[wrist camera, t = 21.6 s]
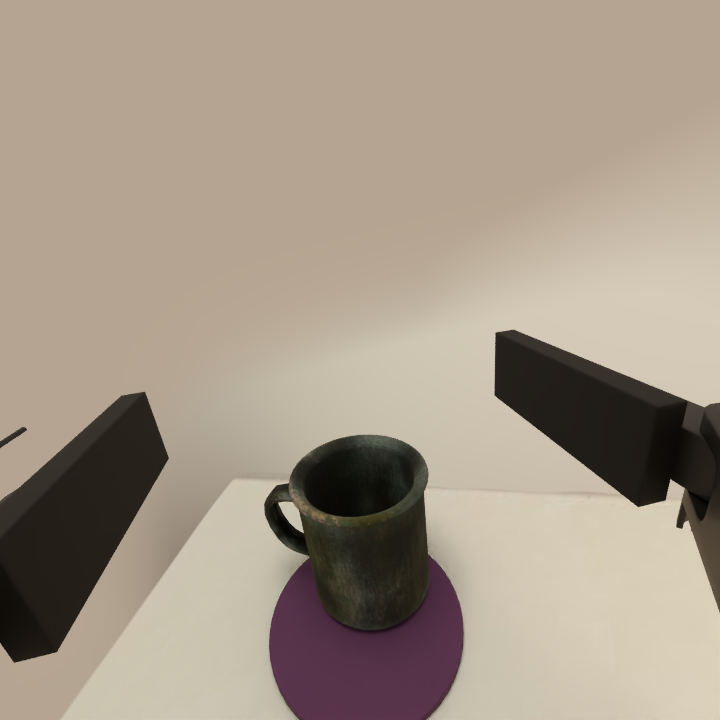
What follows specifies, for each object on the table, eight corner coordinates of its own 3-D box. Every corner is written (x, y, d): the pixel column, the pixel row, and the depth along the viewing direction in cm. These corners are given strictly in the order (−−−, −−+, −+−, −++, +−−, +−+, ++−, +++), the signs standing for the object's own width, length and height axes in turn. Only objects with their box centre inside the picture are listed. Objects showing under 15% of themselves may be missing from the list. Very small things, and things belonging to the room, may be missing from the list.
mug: (435, 650, 26) (427, 527, 22) (257, 627, 29) (222, 515, 25) (434, 533, 36) (428, 433, 32) (301, 525, 39) (281, 433, 35)
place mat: (258, 580, 34) (256, 575, 34) (401, 517, 40) (400, 513, 39) (295, 809, 20) (293, 804, 20) (509, 664, 25) (510, 659, 25)
